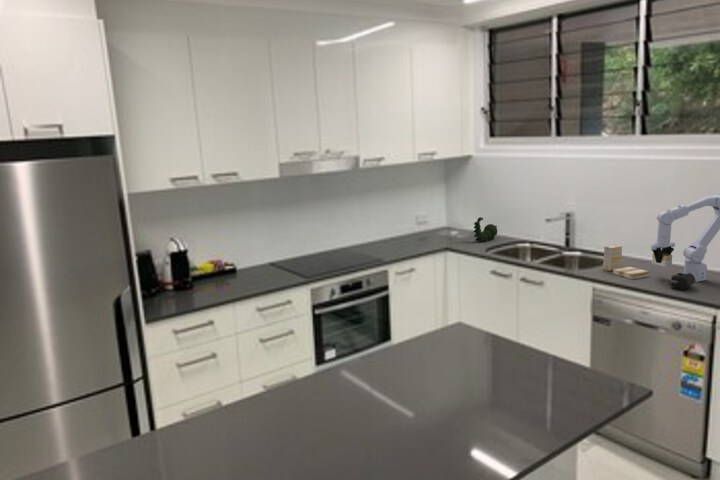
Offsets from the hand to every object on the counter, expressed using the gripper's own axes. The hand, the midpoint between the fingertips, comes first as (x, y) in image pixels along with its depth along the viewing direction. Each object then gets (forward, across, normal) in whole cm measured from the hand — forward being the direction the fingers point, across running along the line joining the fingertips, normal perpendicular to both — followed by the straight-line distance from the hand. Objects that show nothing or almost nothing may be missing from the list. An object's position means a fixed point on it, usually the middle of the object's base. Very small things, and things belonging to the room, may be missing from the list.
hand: (661, 261), depth 270 cm
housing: (+2, 0, 0) cm, 2 cm away
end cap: (+9, +7, +17) cm, 20 cm away
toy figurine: (+9, +17, -123) cm, 124 cm away
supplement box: (+9, +7, -24) cm, 26 cm away
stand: (+8, +8, -11) cm, 16 cm away
